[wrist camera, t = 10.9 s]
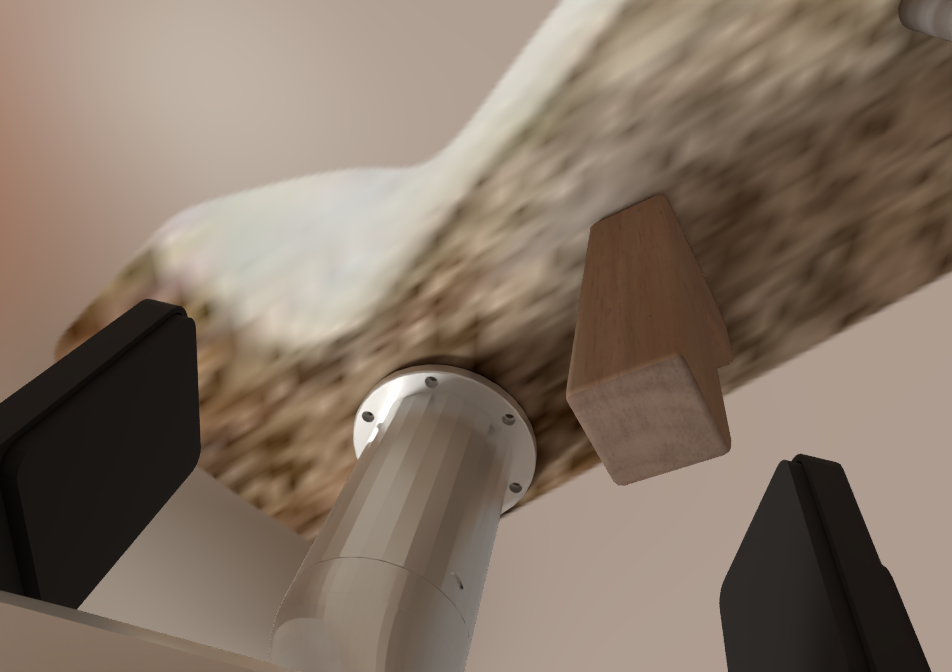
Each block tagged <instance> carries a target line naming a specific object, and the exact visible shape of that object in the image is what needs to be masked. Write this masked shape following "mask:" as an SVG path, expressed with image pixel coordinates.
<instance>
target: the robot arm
mask: <svg viewBox="0 0 952 672" xmlns="http://www.w3.org/2000/svg"><path fill="white" fill-rule="evenodd" d="M434 377H435V378H434ZM353 444H354V449H355V453H356V457H357V459H358V461H357V463H356V465H355V466H354V468H353V470H352V472H351V474H350V476H349V478H348V479H347V481H346V483H345V485H344V487H343V489H342V491H341V492H340V494H339V496H338V498H337V500H336V502H335V504H334V505H333V507H332V509H331V511H330V513H329V515H328V517H327V519H326V520H325V522H324V524H323V526H322V528H321V530H320V532H319V533H318V535H317V537H316V539H315V541H314V543H313V545H312V546H311V548H310V550H309V552H308V554H307V556H306V558H305V559H304V561H303V564H302V565H301V567H300V569H299V571H298V573H297V575H296V577H295V579H294V581H293V583H292V584H291V586H290V588H289V590H288V592H287V594H286V596H285V597H284V599H283V601H282V603H281V605H280V607H279V610H278V612H277V615H276V618H275V622H274V625H273V629H272V633H271V640H270V651H269V662H265V661H261V660H258V659H254V658H251V657H247V656H243V655H239V654H236V653H233V652H229V651H225V650H222V649H218V648H214V647H211V646H207V645H203V644H199V643H196V642H192V641H189V640H185V639H181V638H178V637H174V636H170V635H167V634H163V633H160V632H156V631H152V630H149V629H145V628H141V627H138V626H134V625H131V624H127V623H123V622H119V621H116V620H112V619H109V618H105V617H101V616H98V615H94V614H90V613H87V612H83V611H79V610H77V608H78V607H79V606H80V605H81V604H82V603H83V601H84V600H85V599H86V598H87V597H88V595H89V594H90V593H91V592H92V591H93V589H94V588H95V587H96V586H97V585H98V584H99V582H100V581H101V580H102V579H103V577H104V576H105V575H106V574H107V573H108V572H109V570H110V569H111V568H112V567H113V566H114V564H115V563H116V562H117V561H118V560H119V558H120V557H121V556H122V555H123V554H124V552H125V551H126V550H127V549H128V548H129V546H130V545H131V544H132V543H133V542H134V540H135V539H136V538H137V537H138V535H140V533H141V532H142V531H143V530H144V529H145V527H146V526H147V525H148V524H149V523H150V521H151V520H152V519H153V518H154V517H155V515H156V514H157V513H158V512H159V511H160V509H161V508H162V507H163V506H164V505H165V503H166V502H167V501H168V500H169V499H170V498H171V496H172V495H173V494H174V493H175V492H176V490H177V489H178V488H179V487H180V486H181V484H182V483H183V482H184V481H185V480H186V478H187V477H188V476H189V475H190V474H191V472H192V471H193V470H194V468H195V466H196V464H197V462H198V459H199V456H200V450H201V443H200V418H199V394H198V369H197V345H196V326H195V322H194V320H193V319H192V318H189V317H187V313H186V311H185V309H184V308H183V307H181V306H177V305H173V304H169V303H165V302H160V301H156V300H152V299H145V300H143V301H141V302H139V303H138V304H137V305H135V306H134V307H133V308H131V309H130V310H128V311H127V312H126V313H124V314H123V315H121V316H120V317H119V318H117V319H116V320H115V321H113V322H112V323H110V324H109V325H108V326H106V327H105V328H104V329H102V330H101V331H99V332H98V333H97V334H95V335H94V336H92V337H91V338H90V339H88V340H87V341H86V342H84V343H83V344H81V345H80V346H79V347H77V348H76V349H75V350H73V351H72V352H70V353H69V354H68V355H66V356H65V357H63V358H62V359H61V360H59V361H58V362H57V363H55V364H54V365H53V366H51V367H50V368H48V369H47V370H45V371H44V372H43V373H41V374H40V375H39V376H37V377H36V378H35V379H33V380H32V381H31V382H29V383H28V384H26V385H25V386H23V387H22V388H21V389H19V390H18V391H16V392H15V393H14V394H12V395H11V396H10V397H8V398H7V399H5V400H4V401H3V402H1V403H0V672H464V670H465V666H466V661H467V657H468V652H469V648H470V644H471V640H472V635H473V631H474V627H475V623H476V618H477V613H478V610H479V606H480V601H481V597H482V592H483V588H484V584H485V580H486V575H487V571H488V567H489V562H490V558H491V554H492V549H493V545H494V541H495V536H496V532H497V528H498V524H499V519H500V515H501V514H502V513H504V512H505V511H507V510H508V509H510V508H511V507H513V506H514V505H515V504H516V503H517V502H518V501H519V500H520V499H521V498H522V497H523V496H524V494H525V493H526V491H527V489H528V487H529V486H530V484H531V482H532V478H533V475H534V471H535V467H536V460H537V445H536V438H535V435H534V431H533V428H532V425H531V423H530V421H529V420H528V418H527V416H526V414H525V412H524V411H523V409H522V408H521V407H520V406H519V405H518V403H517V402H516V401H515V400H514V399H513V397H512V396H510V395H509V394H508V393H507V392H506V391H504V390H503V389H502V388H501V387H500V386H499V385H497V384H495V383H493V382H492V381H490V380H488V379H487V378H485V377H483V376H481V375H479V374H476V373H474V372H471V371H468V370H466V369H462V368H457V367H453V366H448V365H431V364H428V365H420V366H412V367H409V368H405V369H402V370H399V371H396V372H394V373H392V374H391V375H389V376H387V377H385V378H384V379H382V380H381V381H380V382H379V383H378V384H376V385H375V386H374V387H373V388H372V389H371V390H370V392H369V393H368V395H367V396H366V397H365V399H364V400H363V402H362V404H361V406H360V407H359V409H358V411H357V414H356V417H355V422H354V426H353ZM719 604H720V614H721V620H722V629H723V636H724V643H725V652H726V659H727V667H728V672H931V670H930V667H929V665H928V663H927V660H926V658H925V656H924V653H923V650H922V648H921V645H920V643H919V641H918V638H917V636H916V634H915V631H914V628H913V626H912V624H911V621H910V619H909V617H908V614H907V612H906V609H905V607H904V604H903V602H902V599H901V597H900V594H899V592H898V590H897V587H896V585H895V582H894V580H893V577H892V576H891V574H890V572H889V571H888V569H887V568H886V567H884V566H883V565H882V564H881V562H880V559H879V557H878V554H877V552H876V549H875V547H874V544H873V542H872V539H871V537H870V534H869V532H868V529H867V527H866V524H865V522H864V519H863V517H862V515H861V512H860V510H859V507H858V504H857V502H856V499H855V497H854V495H853V492H852V489H851V487H850V485H849V482H848V480H847V477H846V475H845V472H844V470H843V468H842V466H841V464H839V463H837V462H833V461H829V460H825V459H820V458H816V457H812V456H808V455H803V454H798V455H796V456H795V457H794V459H793V460H792V461H787V460H782V461H781V462H780V463H779V465H778V466H777V468H776V470H775V473H774V475H773V477H772V479H771V481H770V483H769V485H768V487H767V490H766V492H765V494H764V496H763V498H762V500H761V502H760V505H759V507H758V509H757V511H756V513H755V515H754V517H753V520H752V522H751V524H750V526H749V528H748V530H747V532H746V534H745V537H744V539H743V541H742V543H741V545H740V548H739V550H738V552H737V554H736V556H735V558H734V560H733V562H732V564H731V567H730V569H729V571H728V573H727V575H726V577H725V580H724V582H723V584H722V588H721V592H720V602H719Z"/></svg>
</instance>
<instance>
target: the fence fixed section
mask: <svg viewBox="0 0 952 672" xmlns="http://www.w3.org/2000/svg"><path fill="white" fill-rule="evenodd" d="M899 18H900V21H901V22H902V24H903V25H904V26H905V27H907V28H909V29H911V30H915V31H918V32H921V33H925V34H928V35H931V36H934V37H938V38H941V39H944V40H948V41H951V42H952V0H901V3H900V6H899Z"/></svg>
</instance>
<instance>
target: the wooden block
mask: <svg viewBox="0 0 952 672" xmlns="http://www.w3.org/2000/svg"><path fill="white" fill-rule="evenodd" d="M732 361H733V352H732V348H731V344H730V340H729V336H728V331H727V327H726V323H725V321H724V319H723V317H722V314H721V312H720V310H719V308H718V306H717V304H716V301H715V299H714V297H713V295H712V293H711V291H710V288H709V286H708V284H707V282H706V280H705V278H704V276H703V273H702V271H701V269H700V267H699V265H698V263H697V260H696V258H695V256H694V254H693V252H692V250H691V247H690V245H689V243H688V241H687V239H686V237H685V234H684V232H683V230H682V228H681V226H680V224H679V222H678V219H677V217H676V215H675V213H674V211H673V209H672V206H671V204H670V202H669V200H668V198H667V197H666V196H665V195H663V194H662V195H656V196H654V197H652V198H649V199H647V200H645V201H643V202H641V203H639V204H636V205H634V206H632V207H630V208H628V209H626V210H623V211H621V212H619V213H617V214H615V215H612V216H610V217H608V218H606V219H604V220H602V221H599V222H597V223H595V224H594V225H593V226H592V227H591V228H590V235H589V242H588V249H587V255H586V262H585V269H584V275H583V282H582V289H581V295H580V302H579V309H578V315H577V322H576V329H575V335H574V342H573V349H572V355H571V362H570V369H569V376H568V382H567V389H566V399H567V402H568V403H569V405H570V407H571V409H572V410H573V412H574V414H575V416H576V417H577V419H578V421H579V422H580V424H581V426H582V428H583V429H584V431H585V433H586V435H587V436H588V438H589V440H590V442H591V443H592V445H593V447H594V449H595V450H596V452H597V454H598V455H599V457H600V459H601V461H602V462H603V464H604V466H605V467H606V469H607V471H608V473H609V474H610V476H611V478H612V479H613V481H614V482H615V483H616V484H617V485H628V484H630V483H634V482H637V481H641V480H644V479H647V478H650V477H654V476H657V475H660V474H664V473H666V472H670V471H673V470H677V469H679V468H683V467H686V466H690V465H693V464H696V463H699V462H703V461H706V460H709V459H712V458H715V457H719V456H722V455H725V454H726V453H727V452H729V451H730V449H731V437H730V432H729V427H728V422H727V417H726V412H725V407H724V402H723V397H722V392H721V387H720V382H719V376H718V371H717V368H720V367H722V366H725V365H728V364H730V363H731V362H732Z"/></svg>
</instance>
